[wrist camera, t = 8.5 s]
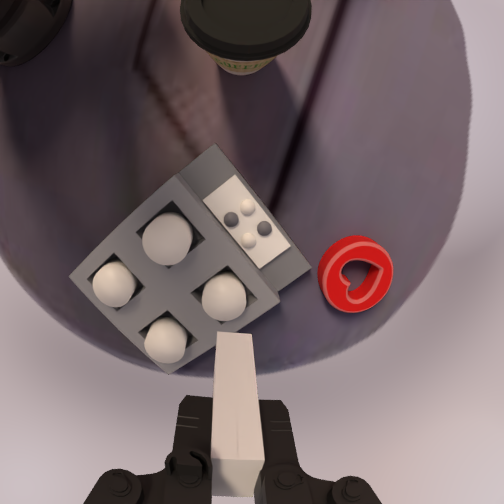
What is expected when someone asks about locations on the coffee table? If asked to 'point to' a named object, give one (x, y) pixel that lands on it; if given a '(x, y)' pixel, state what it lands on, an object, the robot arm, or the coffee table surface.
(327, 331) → the coffee table surface
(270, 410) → the robot arm
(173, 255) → the inner button
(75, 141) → the coffee table surface
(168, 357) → the outer button
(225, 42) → the coffee cup
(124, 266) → the inner button
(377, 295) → the decorative ornament
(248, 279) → the board
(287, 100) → the coffee table surface
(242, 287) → the outer button
